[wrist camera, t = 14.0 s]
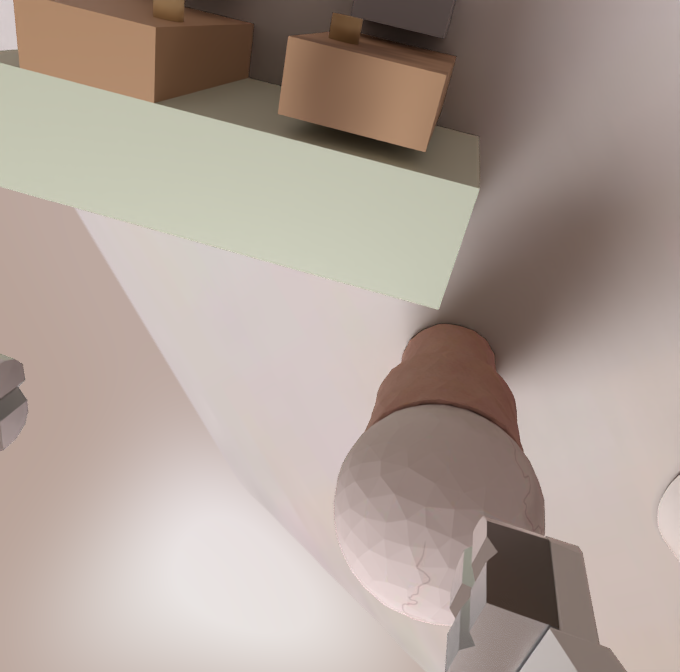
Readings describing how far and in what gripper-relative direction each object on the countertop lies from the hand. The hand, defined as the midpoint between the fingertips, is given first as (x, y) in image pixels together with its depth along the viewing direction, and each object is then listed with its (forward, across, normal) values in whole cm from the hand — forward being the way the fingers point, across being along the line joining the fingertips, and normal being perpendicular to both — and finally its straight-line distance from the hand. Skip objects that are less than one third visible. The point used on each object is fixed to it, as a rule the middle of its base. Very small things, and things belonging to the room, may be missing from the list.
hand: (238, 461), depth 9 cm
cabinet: (+29, -9, +2) cm, 31 cm away
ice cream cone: (+30, +6, -14) cm, 34 cm away
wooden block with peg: (+30, -3, +4) cm, 30 cm away
